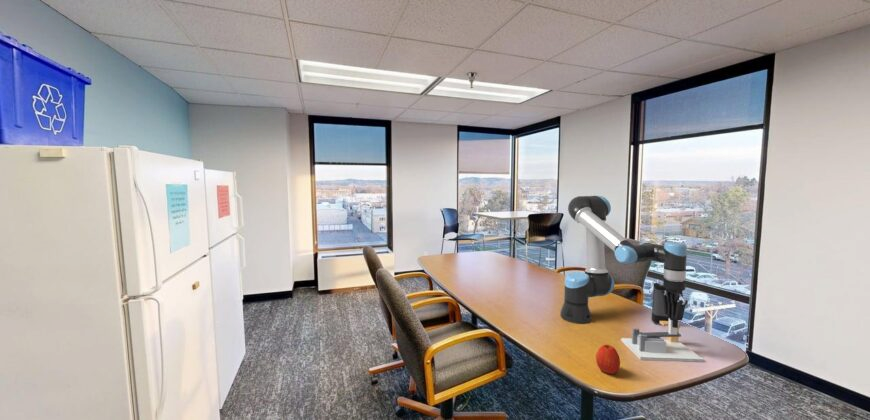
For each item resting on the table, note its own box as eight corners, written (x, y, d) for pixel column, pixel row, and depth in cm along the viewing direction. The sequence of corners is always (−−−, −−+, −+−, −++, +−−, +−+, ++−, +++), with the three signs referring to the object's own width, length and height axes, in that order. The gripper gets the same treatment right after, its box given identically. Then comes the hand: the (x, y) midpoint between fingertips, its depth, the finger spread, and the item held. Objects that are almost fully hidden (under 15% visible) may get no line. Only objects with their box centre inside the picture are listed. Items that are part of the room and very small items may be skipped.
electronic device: (671, 322, 167) (674, 284, 165) (675, 327, 161) (678, 287, 159) (650, 319, 170) (652, 282, 168) (654, 324, 164) (656, 286, 162)
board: (640, 359, 132) (641, 341, 131) (621, 340, 148) (621, 323, 147) (702, 362, 130) (704, 343, 130) (676, 342, 146) (677, 325, 145)
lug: (662, 341, 144) (663, 323, 143) (658, 338, 147) (659, 320, 146) (678, 342, 144) (679, 324, 143) (673, 338, 147) (674, 321, 146)
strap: (640, 339, 137) (640, 336, 137) (635, 334, 141) (635, 331, 141) (682, 337, 136) (682, 335, 136) (675, 333, 140) (675, 330, 140)
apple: (596, 374, 122) (597, 347, 121) (594, 363, 130) (595, 337, 129) (621, 379, 119) (622, 351, 118) (617, 367, 127) (618, 341, 126)
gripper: (695, 283, 129) (693, 341, 131) (673, 274, 142) (671, 327, 144) (675, 283, 130) (673, 340, 131) (655, 274, 143) (654, 326, 144)
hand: (672, 333), depth 138 cm, fingers closed
